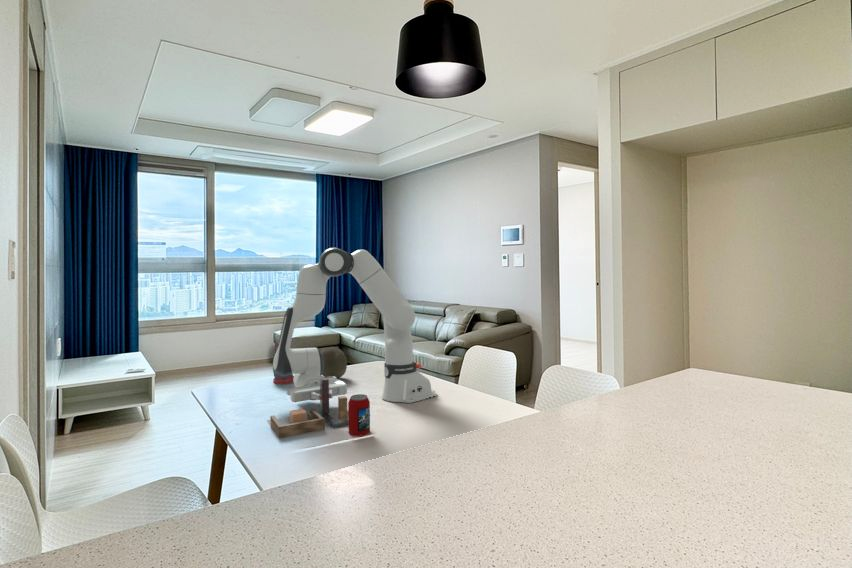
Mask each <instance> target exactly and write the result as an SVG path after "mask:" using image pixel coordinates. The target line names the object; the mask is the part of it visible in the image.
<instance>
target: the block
mask: <svg viewBox="0 0 852 568" xmlns="http://www.w3.org/2000/svg"><path fill="white" fill-rule="evenodd" d="M307 414H308V413H307V411H306V410H305V409H304V408H299V409H294V410H289V417H290V424H292V423H297V422H303V421H307Z"/></svg>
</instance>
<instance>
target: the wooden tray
mask: <svg viewBox="0 0 852 568" xmlns="http://www.w3.org/2000/svg"><path fill="white" fill-rule="evenodd" d="M269 417H270V419H268V420H266V422H267V424H268V425H269V426H270V428H271V429H272V431H273V432H274V433H275V435H276V436H277V438H278V439H284V438H290V437H294V436H299V435H305V434H309V433H314V432H319V431H324V430H325V429H326V426H325V422H326V421H325V419H324V418H323V417H322V416H321V415H320V413H319V412H318V411H317V410H316V409H315V408H311V409H310V410H309V413H307V421H303V422H297V423H292V424H290V416H286V417H285V416H284V417H280V418H278V417H276V415H274V414H273V415H270V416H269Z"/></svg>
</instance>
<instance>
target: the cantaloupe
mask: <svg viewBox="0 0 852 568" xmlns="http://www.w3.org/2000/svg"><path fill="white" fill-rule="evenodd" d="M320 351H321V353H322V354H323V357H324V371H323V373H322V375H321V376H335V377H336V378H337V379H338V380H339V379H340V378H341V377H343V376H344V375H345V374H346V372H347V368H348V359H347V356H346V355H345V352H344V351H342V349H340V348H338V347H334V346H333V347H326V348H322V349H321V350H320Z"/></svg>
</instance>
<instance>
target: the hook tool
mask: <svg viewBox="0 0 852 568" xmlns="http://www.w3.org/2000/svg"><path fill="white" fill-rule="evenodd" d="M320 394H321V395H322V400H319V401H320V402H319V405H320V406H319V408H320V410H319V412H320V413H319V414H320V415H321V416H322V417H323V418H324V419H325V422H326V423H327V424H328V425H329V426H330V427H331V428H332V429H336V428H342V427H345V426H349V421H348V419H344V420H336V419H335V418H334V417H332V416H331V415H330V398H329V379H327V378H323V379H320Z"/></svg>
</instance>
